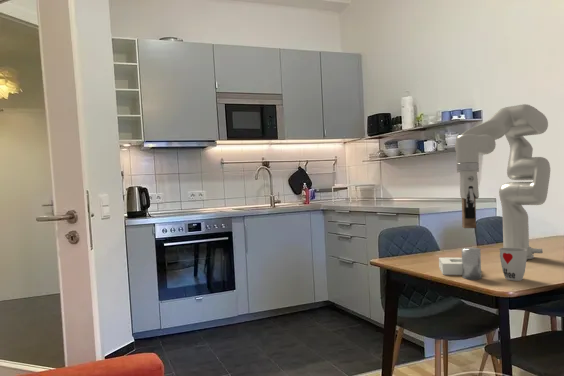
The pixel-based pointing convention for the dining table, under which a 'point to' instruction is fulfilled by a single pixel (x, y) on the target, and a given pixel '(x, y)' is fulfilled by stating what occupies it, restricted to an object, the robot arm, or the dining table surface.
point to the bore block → (450, 266)
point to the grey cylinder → (471, 263)
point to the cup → (513, 262)
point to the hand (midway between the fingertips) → (468, 217)
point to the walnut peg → (471, 221)
